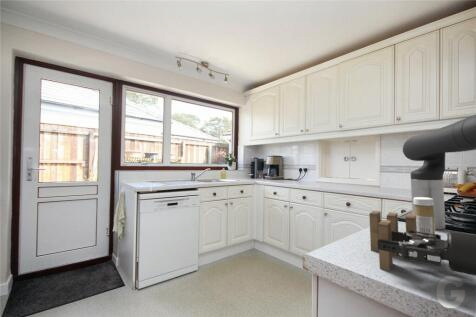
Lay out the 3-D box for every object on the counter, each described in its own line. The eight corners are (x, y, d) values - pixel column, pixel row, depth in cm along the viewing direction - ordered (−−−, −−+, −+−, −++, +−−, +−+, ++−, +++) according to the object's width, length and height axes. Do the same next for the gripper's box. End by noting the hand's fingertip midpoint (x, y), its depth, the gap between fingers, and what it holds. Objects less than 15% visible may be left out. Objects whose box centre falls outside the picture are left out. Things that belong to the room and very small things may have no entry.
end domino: (374, 245, 67) (373, 210, 67) (382, 246, 65) (380, 211, 66) (370, 250, 63) (369, 213, 63) (378, 251, 62) (376, 214, 62)
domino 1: (383, 261, 56) (382, 219, 56) (392, 263, 55) (391, 220, 55) (379, 268, 52) (378, 223, 52) (389, 271, 51) (387, 225, 51)
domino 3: (409, 251, 61) (407, 213, 62) (417, 253, 60) (416, 214, 60) (407, 257, 58) (405, 217, 58) (416, 259, 56) (414, 218, 57)
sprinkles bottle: (438, 245, 65) (436, 197, 66) (432, 249, 63) (430, 199, 63) (419, 241, 69) (416, 196, 69) (412, 244, 66) (410, 197, 67)
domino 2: (391, 248, 64) (389, 212, 64) (399, 249, 63) (397, 212, 63) (388, 253, 60) (386, 215, 60) (396, 255, 59) (394, 216, 59)
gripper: (476, 227, 49) (386, 217, 59) (487, 246, 38) (374, 229, 49) (478, 263, 48) (387, 246, 59) (489, 292, 38) (375, 265, 48)
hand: (381, 239), depth 54 cm, fingers open, 8 cm apart
